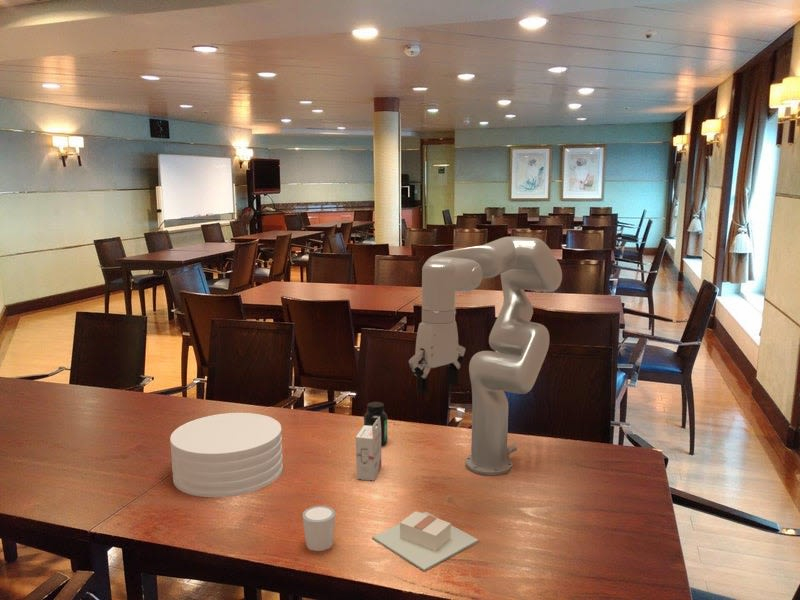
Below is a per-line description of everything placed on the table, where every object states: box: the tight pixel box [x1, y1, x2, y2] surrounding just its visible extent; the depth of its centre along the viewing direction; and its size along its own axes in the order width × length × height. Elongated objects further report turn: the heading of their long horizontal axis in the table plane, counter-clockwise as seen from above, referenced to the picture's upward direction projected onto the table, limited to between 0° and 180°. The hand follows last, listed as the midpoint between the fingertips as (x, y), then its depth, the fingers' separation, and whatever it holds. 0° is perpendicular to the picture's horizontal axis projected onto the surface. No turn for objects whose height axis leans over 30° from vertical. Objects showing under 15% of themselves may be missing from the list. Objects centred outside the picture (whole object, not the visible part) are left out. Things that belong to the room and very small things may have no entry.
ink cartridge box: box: [355, 416, 382, 482], centre depth 167 cm, size 9×5×15 cm, turn 168°
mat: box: [371, 511, 479, 573], centre depth 137 cm, size 16×16×1 cm
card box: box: [399, 510, 452, 551], centre depth 136 cm, size 9×6×4 cm, turn 55°
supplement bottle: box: [363, 401, 388, 448], centre depth 187 cm, size 7×7×12 cm
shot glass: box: [302, 505, 336, 552], centre depth 135 cm, size 7×7×7 cm
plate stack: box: [169, 412, 284, 498], centre depth 168 cm, size 28×28×12 cm
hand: (437, 388), depth 148 cm, fingers open, 9 cm apart
